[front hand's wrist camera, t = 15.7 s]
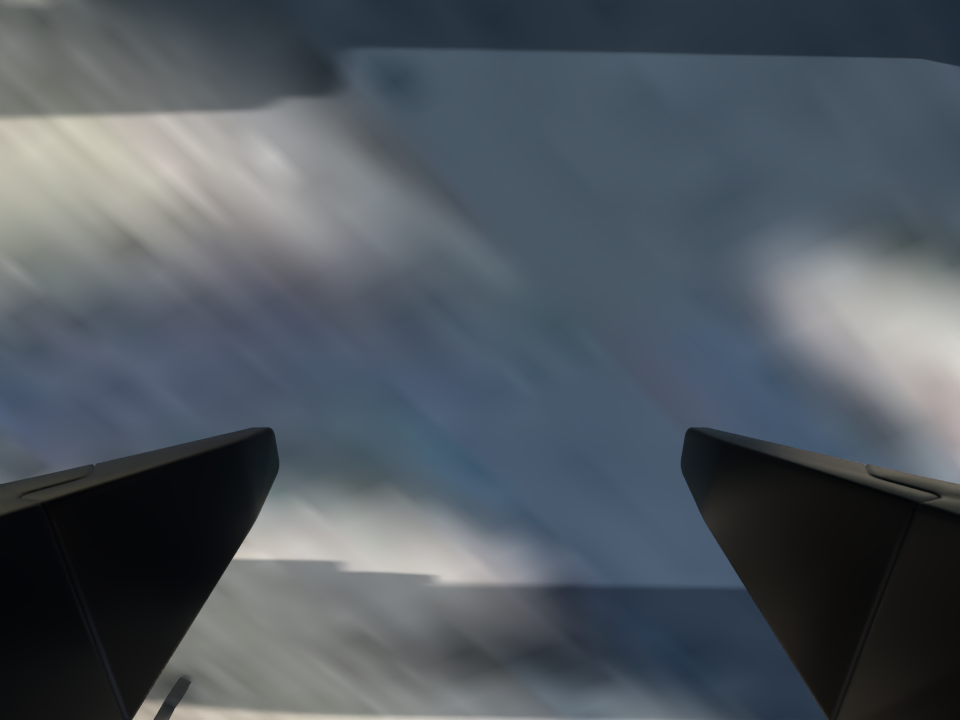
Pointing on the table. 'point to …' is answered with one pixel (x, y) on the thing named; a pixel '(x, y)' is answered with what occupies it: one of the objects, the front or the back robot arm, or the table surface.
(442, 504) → the table surface
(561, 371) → the table surface
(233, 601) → the table surface
